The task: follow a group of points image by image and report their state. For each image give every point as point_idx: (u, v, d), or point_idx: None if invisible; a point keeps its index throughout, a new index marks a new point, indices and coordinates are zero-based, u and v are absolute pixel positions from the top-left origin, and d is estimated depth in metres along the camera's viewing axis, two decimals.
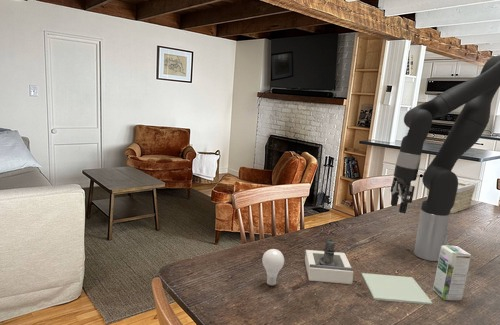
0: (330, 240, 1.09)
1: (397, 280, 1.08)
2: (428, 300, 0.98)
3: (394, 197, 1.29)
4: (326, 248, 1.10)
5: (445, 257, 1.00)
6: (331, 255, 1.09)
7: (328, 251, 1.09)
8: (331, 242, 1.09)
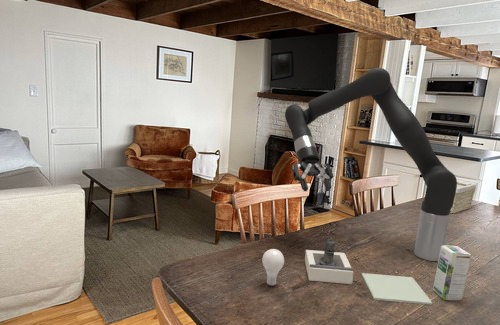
0: (330, 240, 1.09)
1: (397, 280, 1.08)
2: (428, 300, 0.98)
3: (324, 182, 1.21)
4: (326, 248, 1.10)
5: (445, 257, 1.00)
6: (331, 255, 1.09)
7: (328, 251, 1.09)
8: (331, 242, 1.09)
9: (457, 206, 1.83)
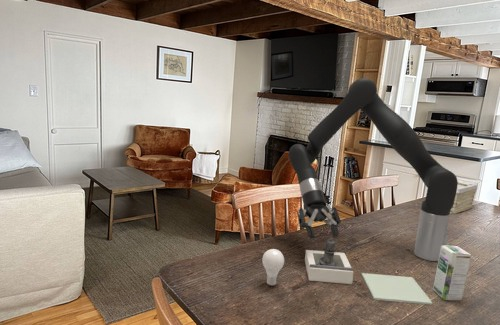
0: (330, 240, 1.09)
1: (397, 280, 1.08)
2: (428, 300, 0.98)
3: (331, 228, 1.17)
4: (326, 248, 1.10)
5: (445, 257, 1.00)
6: (331, 255, 1.09)
7: (328, 251, 1.09)
8: (331, 242, 1.09)
9: (458, 206, 1.83)
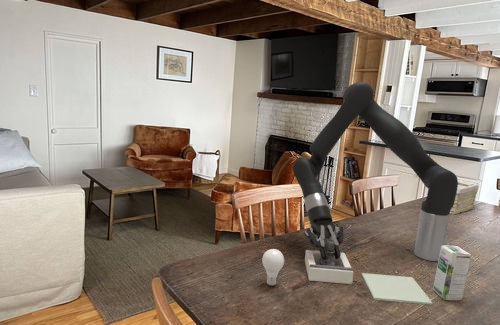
0: (330, 240, 1.09)
1: (397, 280, 1.08)
2: (428, 300, 0.98)
3: None
4: (326, 248, 1.10)
5: (445, 257, 1.00)
6: (331, 255, 1.09)
7: (328, 251, 1.09)
8: (331, 242, 1.09)
9: (459, 207, 1.83)
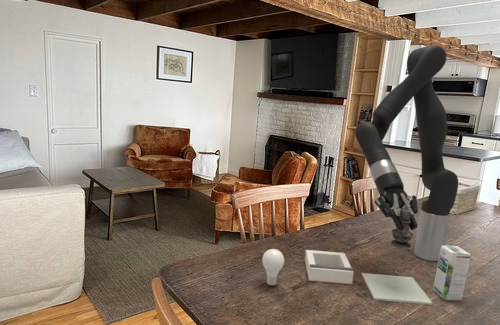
0: (406, 208, 0.99)
1: (397, 280, 1.08)
2: (428, 300, 0.98)
3: None
4: (401, 217, 0.99)
5: (445, 257, 1.00)
6: (407, 225, 0.99)
7: (403, 220, 0.99)
8: (407, 211, 0.99)
9: (460, 207, 1.82)
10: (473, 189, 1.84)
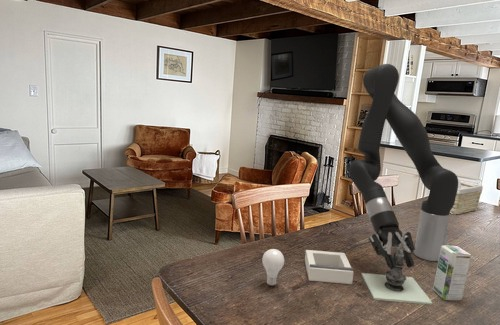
0: (399, 253, 1.01)
1: None
2: (428, 300, 0.98)
3: (404, 257, 1.04)
4: (395, 261, 1.02)
5: (445, 257, 1.00)
6: (400, 269, 1.02)
7: (397, 265, 1.01)
8: (400, 255, 1.01)
9: (460, 207, 1.82)
10: (474, 189, 1.83)
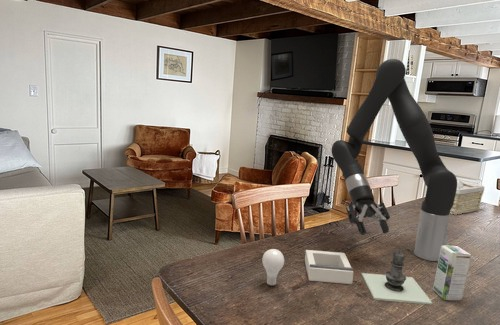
0: (399, 253, 1.02)
1: None
2: (428, 300, 0.98)
3: (381, 224, 1.16)
4: (394, 261, 1.02)
5: (445, 257, 1.00)
6: (400, 269, 1.02)
7: (397, 265, 1.02)
8: (400, 255, 1.01)
9: (460, 207, 1.81)
10: (475, 190, 1.83)
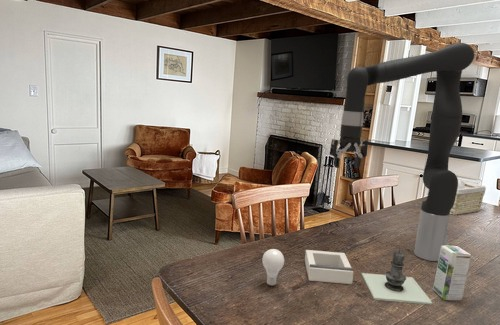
0: (399, 253, 1.02)
1: None
2: (428, 300, 0.98)
3: (356, 159, 1.30)
4: (394, 261, 1.02)
5: (445, 257, 1.00)
6: (400, 269, 1.02)
7: (397, 265, 1.02)
8: (400, 255, 1.01)
9: (460, 208, 1.81)
10: (475, 190, 1.82)
